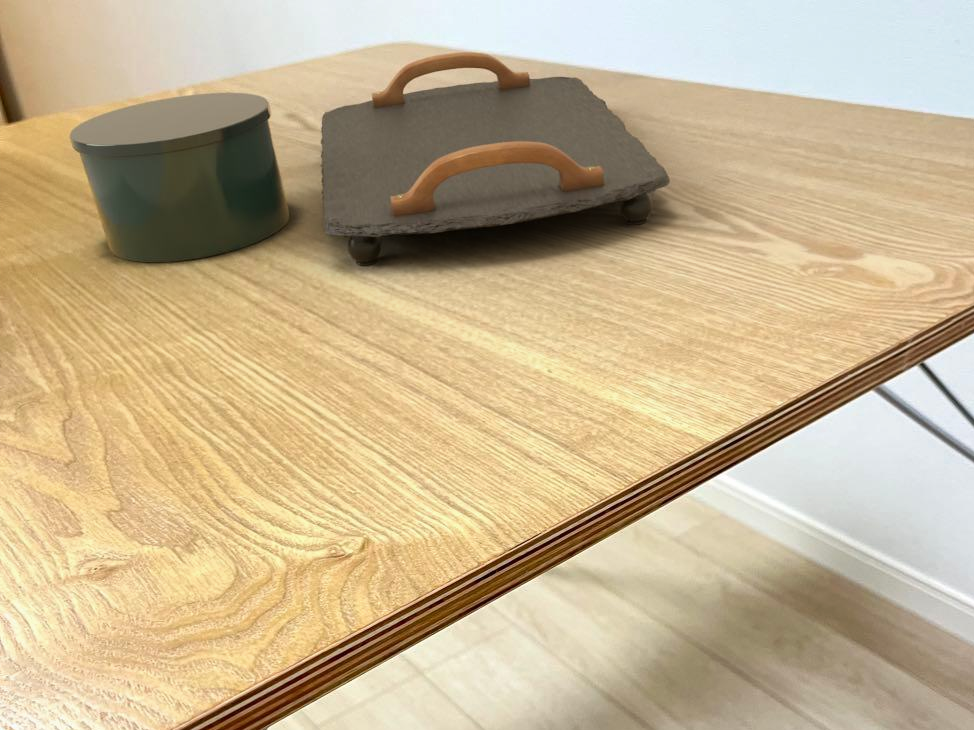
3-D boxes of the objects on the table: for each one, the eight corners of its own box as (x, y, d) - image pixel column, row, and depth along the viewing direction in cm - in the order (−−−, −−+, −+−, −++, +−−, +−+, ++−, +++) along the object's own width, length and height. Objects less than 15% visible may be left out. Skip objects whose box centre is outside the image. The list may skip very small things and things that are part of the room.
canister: (71, 268, 79) (31, 150, 75) (152, 205, 90) (122, 99, 86) (257, 259, 77) (227, 137, 72) (316, 195, 88) (294, 86, 83)
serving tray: (325, 137, 103) (311, 64, 99) (577, 101, 105) (572, 28, 101) (329, 289, 71) (308, 189, 67) (692, 234, 73) (689, 134, 69)
